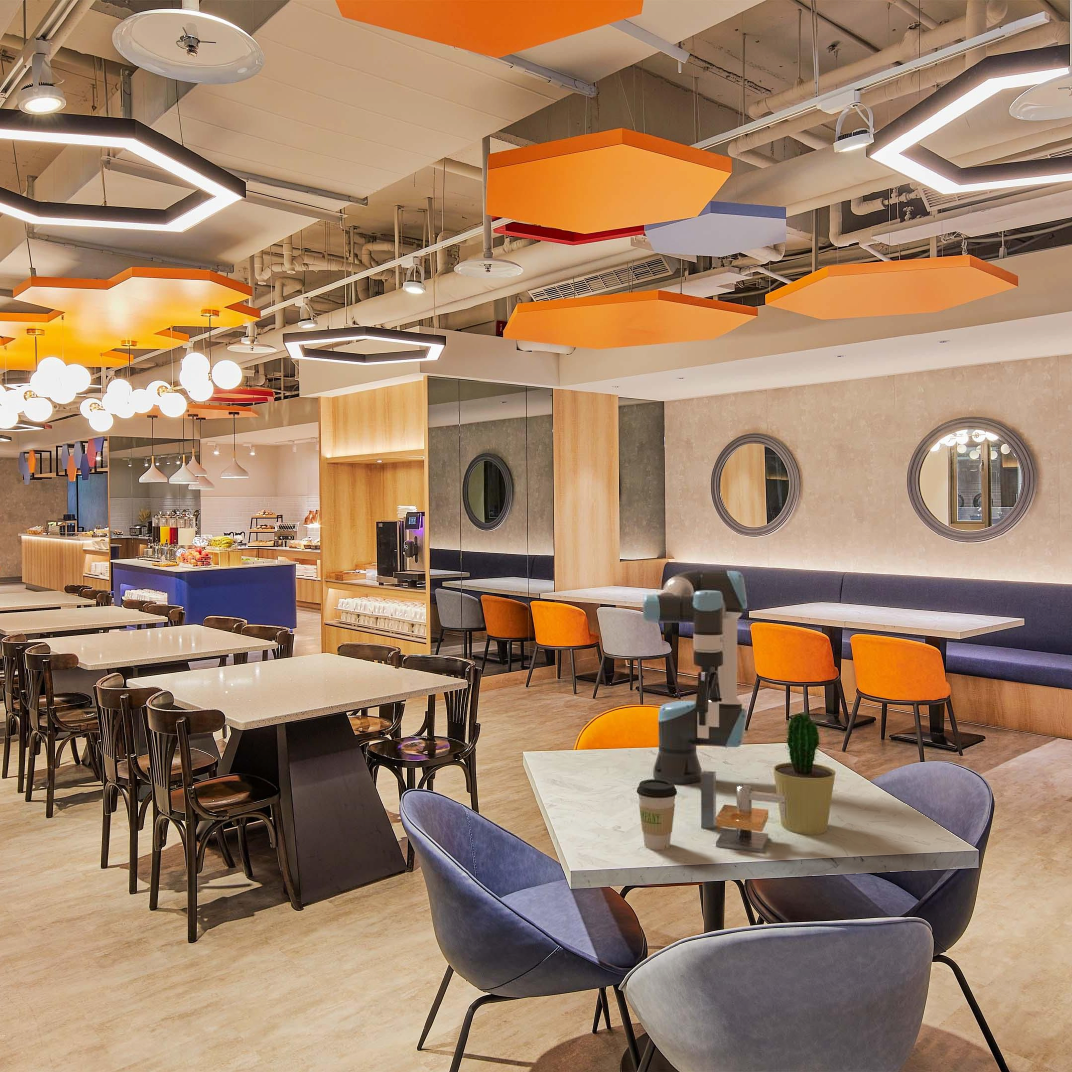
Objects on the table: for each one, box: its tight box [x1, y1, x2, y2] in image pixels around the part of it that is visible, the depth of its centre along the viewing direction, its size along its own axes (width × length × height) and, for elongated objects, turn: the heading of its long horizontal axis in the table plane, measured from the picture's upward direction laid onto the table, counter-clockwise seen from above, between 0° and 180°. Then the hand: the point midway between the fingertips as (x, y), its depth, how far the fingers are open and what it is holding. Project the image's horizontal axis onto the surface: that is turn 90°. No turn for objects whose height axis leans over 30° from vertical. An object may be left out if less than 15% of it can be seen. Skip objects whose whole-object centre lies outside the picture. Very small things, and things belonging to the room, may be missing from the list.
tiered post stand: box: [715, 784, 786, 854], centre depth 212 cm, size 16×11×13 cm
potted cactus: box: [773, 712, 836, 835], centre depth 224 cm, size 15×15×30 cm
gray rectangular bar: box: [700, 770, 717, 830], centre depth 224 cm, size 3×3×14 cm
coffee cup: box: [636, 778, 678, 851], centre depth 211 cm, size 10×10×15 cm
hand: (708, 732), depth 224 cm, fingers open, 13 cm apart
